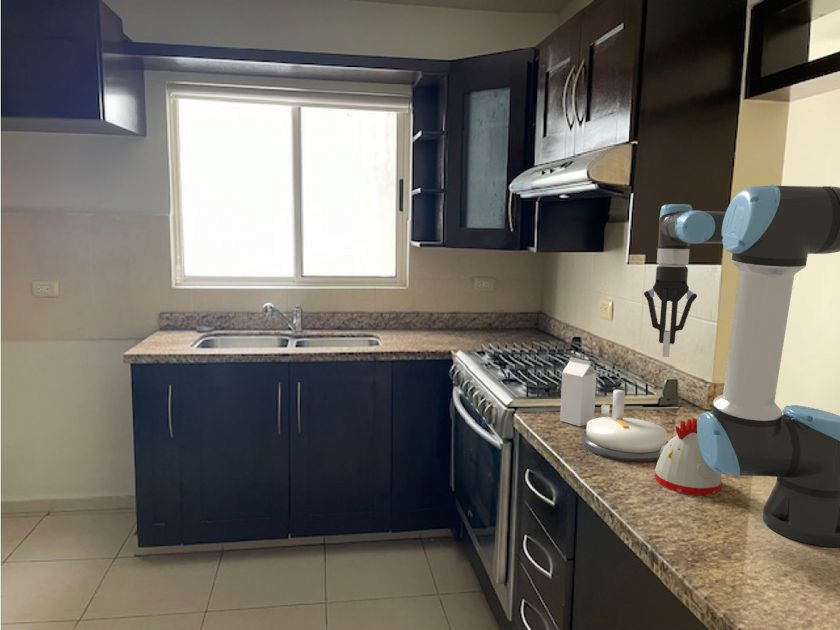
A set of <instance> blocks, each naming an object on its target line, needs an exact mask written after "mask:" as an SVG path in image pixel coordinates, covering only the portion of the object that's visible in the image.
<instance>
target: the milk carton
mask: <svg viewBox="0 0 840 630" xmlns="http://www.w3.org/2000/svg"><path fill="white" fill-rule="evenodd" d="M591 364H592V363H591V360H586V359H585V360H584V359H581V358H575V357H569V361H568V363H567V364H566V366H565V367H564V369H563V371H562V372H561V376H562V377H561V391H560V392H561V393H560V397H561V398H560V412H559V415H560V416H559V420H560V422H563V423H567V424H570V425H574V426H577V427H583V426H585V425H586V426H587V423H588V421H590V420H592V419H595V406H596V405H595V404H596V389H597V388H596V386H597V371H596V370H595V369H594V368H593V366H592V365H591Z"/></svg>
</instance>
